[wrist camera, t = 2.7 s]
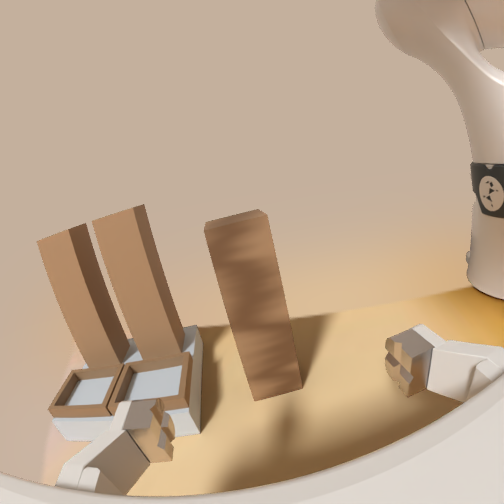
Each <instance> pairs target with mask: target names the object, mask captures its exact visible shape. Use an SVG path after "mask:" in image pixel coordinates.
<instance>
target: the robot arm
mask: <svg viewBox="0 0 504 504" xmlns="http://www.w3.org/2000/svg"><path fill="white" fill-rule="evenodd" d="M375 12H376V18H377V21H378V24H379V26H380V29H381V30H382V32H383V34H384V35H385V36H386V38H387V39H388V40H389V41H390V42H391V43H392V44H393V45H394V46H395V47H396V48H398V49H399V50H401V51H402V52H404V53H405V54H408V55H410V56H412V57H415V58H417V59H419V60H421V61H422V62H424V63H426V64H427V65H429V66H430V67H431V68H432V69H434V70H435V71H436V72H437V73H438V74H439V75H440V76H441V77H442V78H443V79H444V80H445V82H446V83H447V84H448V86H449V87H450V88H451V90H452V92H453V93H454V95H455V97H456V99H457V101H458V103H459V106H460V109H461V112H462V115H463V118H464V121H465V125H466V129H467V133H468V137H469V141H470V146H471V152H472V158H473V162H472V163H471V179H472V186H473V191H474V193H476V202H475V203H474V205H473V211H472V232H471V247H470V251H468V252H467V255H466V261H467V263H468V264H469V265H468V270H467V278H468V280H469V281H470V283H471V284H472V285H473V286H474V287H476V288H477V289H478V290H480V291H482V292H484V293H486V294H488V295H491V296H494V297H497V298H500V299H504V71H502V70H499V69H497V68H495V67H494V66H492V65H491V64H490V63H488V62H487V61H486V60H485V59H484V58H483V56H482V55H481V54H480V51H482V50H484V49H493V48H504V0H376V5H375ZM385 348H386V349H387V350H388V351H389V352H388V354H387V356H386V358H385V366H386V370H387V373H388V374H389V376H390V378H391V379H392V380H393V381H397V382H399V388H400V389H401V390H402V392H403V393H404V394H405V395H406V396H407V397H410V396H412V395H414V394H416V393H418V392H420V391H422V390H424V389H426V388H427V390H430V391H433V392H435V393H438V394H441V395H444V396H446V397H449V398H452V399H455V400H458V401H461V402H463V404H462V405H460V406H459V407H457V408H455V409H454V410H452V411H451V412H449V413H447V414H446V415H444V416H442V417H441V418H439V419H437V420H436V421H434V422H432V423H430V424H429V425H427V426H425V427H423V428H421V429H419V430H418V431H416V432H414V433H412V434H410V435H408V436H406V437H404V438H402V439H400V440H398V441H396V442H394V443H391V444H389V445H387V446H385V447H383V448H380V449H378V450H376V451H373V452H371V453H369V454H366V455H364V456H361V457H359V458H356V459H353V460H351V461H348V462H345V463H342V464H340V465H337V466H334V467H331V468H328V469H325V470H321V471H318V472H315V473H312V474H308V475H305V476H301V477H297V478H293V479H289V480H285V481H281V482H277V483H272V484H268V485H263V486H258V487H252V488H247V489H240V490H234V491H227V492H219V493H210V494H199V495H184V496H126V494H127V493H128V492H129V491H130V489H131V488H132V487H133V486H134V484H135V483H136V482H137V480H138V479H139V478H140V477H141V475H142V474H143V473H144V472H145V470H146V469H147V468H148V466H149V465H150V463H155V462H168V461H172V459H173V449H174V447H173V445H172V444H171V442H172V441H173V440H174V439H175V427H174V423H173V420H172V418H171V416H170V414H168V413H166V412H165V411H164V408H165V405H164V403H163V402H162V400H161V399H160V398H151V399H140V400H129V401H121V402H120V403H119V405H118V407H117V410H116V413H115V415H114V418H113V421H112V424H111V426H110V429H109V431H105V432H103V433H102V434H101V435H100V436H98V437H97V438H96V439H95V440H93V441H92V442H91V443H90V444H88V445H87V446H86V447H85V448H83V449H82V450H81V451H80V452H78V453H77V454H76V455H75V456H73V457H72V458H71V459H69V460H68V461H67V462H66V463H64V465H63V467H62V470H61V472H60V475H59V477H58V480H57V482H56V485H55V486H51V485H46V484H42V483H38V482H34V481H30V480H25V479H22V478H19V477H16V476H12V475H9V474H6V473H3V472H0V504H504V348H502V347H498V346H490V345H482V344H474V343H467V342H460V341H453V340H448V341H445V340H444V339H442V338H441V337H440V336H438V335H437V334H436V333H434V332H433V331H431V330H430V329H429V328H427V327H426V326H425V325H423V324H418V325H416V326H414V327H412V328H410V329H409V330H406V331H404V332H402V333H399V334H397V335H394V336H392V337H390V338H387V340H386V344H385Z"/></svg>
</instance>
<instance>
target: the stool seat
mask: <svg viewBox="0 0 504 504" xmlns="http://www.w3.org/2000/svg"><path fill="white" fill-rule="evenodd" d="M92 223H93V227H94V231H95V234H96V237H97V241H98V244H99V247H100V251H101V254H102V257H103V260H104V263H105V266H106V269H107V272H108V275H109V278H110V281H111V283H112V286H113V289H114V292H115V294H116V297H117V300H118V302H119V305H120V308H121V310H122V313H123V315H124V317H125V320H126V322H127V325H128V327H129V330H130V332H131V334H132V337H133V338H132V339H127V337H126V335H125V333H124V330H123V328H122V326H121V323H120V321H119V319H118V316H117V314H116V311H115V309H114V306H113V303H112V301H111V298H110V296H109V293H108V290H107V288H106V285H105V282H104V279H103V276H102V274H101V271H100V268H99V265H98V262H97V259H96V255H95V252H94V249H93V246H92V243H91V239H90V236H89V232H88V229H87V225H86V223H85V224H82V225H79V226H76V227H73V228H71V229H68V230H65V231H62V232H60V233H57V234H55V235H52V236H49V237H47V238H44V239H42V240H39V241H37V243H38V246H39V250H40V253H41V256H42V259H43V262H44V266H45V269H46V272H47V274H48V277H49V280H50V283H51V286H52V288H53V291H54V294H55V296H56V298H57V301H58V304H59V306H60V308H61V311H62V313H63V316H64V318H65V320H66V323H67V325H68V327H69V329H70V331H71V333H72V336H73V338H74V340H75V342H76V344H77V346H78V348H79V350H80V352H81V354H82V356H83V358H84V360H85V362H86V364H85V365H84V367H83V368H82V369H79V370H72V371H71V373H70V374H69V376H68V378H67V379H66V381H65V382H64V384H63V385H62V387H61V389H60V390H59V392H58V393H57V395H56V397H55V398H54V400H53V402H52V403H51V405H50V407H49V408H48V410H49V411H50V413H51V414H52V416H53V417H54V418H53V420H52V422H53V423H54V425H55V426H56V427H57V429H58V430H59V431H60V433H61V434H62V435H63V436H64V438H65V439H66V440H67V441H93V440H95V439H96V438H97V437H98V436H100V435H101V434H102V433H103V432H105V431H109V429H110V426H111V424H112V421H113V418H114V415H115V413H116V410H117V407H118V405H119V403H120V402H121V401H129V400H140V399H151V398H160V399H161V400H162V402H163V403H164V405H165V408H164V411H165V412H166V413H168V414H170V416H171V418H172V420H173V423H174V427H175V437H179V436H187V435H194V434H200V416H201V382H202V358H203V341H202V339H201V336H200V333H199V330H198V327H197V325H193V326H189V327H185V328H183V327H182V324H181V322H180V319H179V316H178V313H177V311H176V308H175V305H174V302H173V299H172V296H171V293H170V290H169V287H168V284H167V281H166V278H165V275H164V272H163V269H162V265H161V262H160V259H159V255H158V252H157V249H156V245H155V242H154V238H153V235H152V232H151V228H150V224H149V221H148V217H147V213H146V209H145V206H144V204H143V205H140V206H137V207H133V208H131V209H127V210H124V211H121V212H118V213H115V214H111V215H108V216H105V217H102V218H99V219H97V220H94V221H92Z"/></svg>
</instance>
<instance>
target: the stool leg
mask: <svg viewBox="0 0 504 504" xmlns="http://www.w3.org/2000/svg"><path fill="white" fill-rule="evenodd" d="M204 233H205V237H206V240H207V244H208V248H209V252H210V256H211V259H212V263H213V267H214V270H215V273H216V277H217V281H218V284H219V288H220V291H221V295H222V298H223V302H224V305H225V309H226V312H227V315H228V318H229V322H230V325H231V329H232V332H233V335H234V339H235V342H236V345H237V348H238V352H239V355H240V358H241V361H242V364H243V368H244V371H245V374H246V377H247V380H248V383H249V386H250V389H251V392H252V395H253V398H254V401H258V400H262V399H266V398H270V397H274V396H277V395H281V394H285V393H288V392H292V391H295V390H299V389H302V388H303V387H302V381H301V376H300V371H299V366H298V360H297V355H296V350H295V345H294V340H293V335H292V330H291V325H290V320H289V315H288V310H287V306H286V300H285V295H284V291H283V286H282V281H281V277H280V272H279V267H278V262H277V258H276V253H275V249H274V244H273V239H272V234H271V230H270V226H269V221H268V217H267V214H265V213H263V212H262V211H260V210H258V209H257V210H253V211H248V212H245V213H240V214H236V215H232V216H229V217H224V218H220V219H217V220H212V221H209V222H206V224H205V228H204Z"/></svg>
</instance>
